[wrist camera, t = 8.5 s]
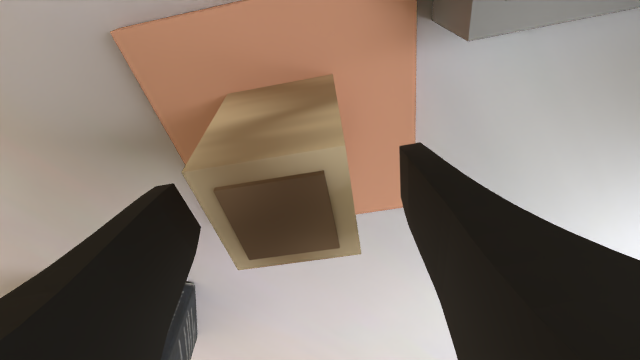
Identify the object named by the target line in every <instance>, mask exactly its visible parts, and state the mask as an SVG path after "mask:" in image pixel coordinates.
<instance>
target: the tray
mask: <svg viewBox="0 0 640 360" xmlns="http://www.w3.org/2000/svg"><path fill="white" fill-rule="evenodd" d="M635 8H640V0H433V11H432V21H434V22H435V23H437V24H439V25H441V26H442V27H444V28H446V29H448V30H449V31H451V32H453V33H454V34H456V35H458V36H460V37H461V38H463V39H465V40H467V41H473V40H478V39H483V38H488V37H493V36H498V35H503V34H508V33H513V32H518V31H523V30H528V29H533V28H539V27H544V26H549V25H554V24H559V23H564V22H569V21H574V20H579V19H584V18H589V17H594V16H599V15H604V14H610V13H615V12H620V11H625V10H630V9H635Z"/></svg>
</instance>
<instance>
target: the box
mask: <svg viewBox="0 0 640 360" xmlns="http://www.w3.org/2000/svg"><path fill="white" fill-rule="evenodd" d="M196 340H197V319H196V299H195V285H194V284H193V283H185V285H184V288H183V291H182V294H181V296H180V299H179V302H178V305H177V307H176V310H175V313H174V316H173V318H172V321H171V324H170V327H169V331H168V334H167V337H166V341H165V345H164V349H163V353H162V357H161V360H190V359H191V356H192V353H193V349H194V346H195V343H196Z"/></svg>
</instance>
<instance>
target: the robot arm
mask: <svg viewBox="0 0 640 360" xmlns="http://www.w3.org/2000/svg"><path fill="white" fill-rule="evenodd" d="M399 154H400V193H401V200H402V204H403V208H404V211H405V215H406V218H407V222H408V225H409V228H410V230H411V232H412V235H413V237H414V240H415V242H416V244H417V247H418V249H419V252H420V254H421V256H422V259H423V261H424V263H425V266H426V268H427V271H428V273H429V275H430V278H431V280H432V282H433V285H434V287H435V290H436V292H437V295H438V298H439V300H440V303H441V306H442V309H443V312H444V315H445V319H446V322H447V325H448V328H449V331H450V335H451V338H452V341H453V345H454V348H455V351H456V355H457V358H458V360H640V260H637V259H635V258H632V257H629V256H627V255H624V254H622V253H619V252H617V251H614V250H612V249H609V248H607V247H604V246H602V245H600V244H597V243H595V242H593V241H590V240H588V239H586V238H583V237H581V236H579V235H576V234H574V233H572V232H569V231H567V230H565V229H563V228H561V227H558V226H556V225H554V224H552V223H550V222H548V221H546V220H544V219H542V218H540V217H538V216H536V215H534V214H532V213H530V212H528V211H526V210H524V209H522V208H520V207H518V206H516V205H514V204H513V203H511V202H509V201H507V200H505V199H504V198H502V197H500V196H499V195H497V194H495V193H494V192H492V191H490V190H489V189H487V188H485V187H484V186H482V185H480V184H479V183H477V182H476V181H474V180H472V179H471V178H469V177H468V176H466V175H465V174H463V173H462V172H460V171H459V170H458V169H456V168H455V167H453V166H452V165H450V164H449V163H448V162H446V161H445V160H443V159H442V158H441V157H439V156H438V155H437V154H435V153H434V152H433V151H431V150H430V149H428V148H427V147H426V146H424V145H423V144H422V143H414V144H408V145H402V146H399ZM200 229H201V226H200V225H199V223H198V222H197V220H196V218H195V217H194V215H193V214H192V212H191V210H190V209H189V207H188V206H187V204H186V203H185V201H184V199H183V198H182V196H181V195H180V193H179V191H178V190H177V188H176V187H175V185H174V184H168V185H162V186H156V187H154V188H153V189H151V190H150V191H148V192H147V193H145V194H144V195H142V196H141V197H140V198H138V199H137V200H136V201H134V202H133V203H132V204H130V205H129V206H128V207H126V208H125V209H124V210H123V211H121V212H120V213H119V214H118V215H116V216H115V217H114V218H112V219H111V220H110V221H109V222H107V223H106V224H105V225H104V226H102V227H101V228H100V229H98V230H97V231H96V232H95V233H93V234H92V235H91V236H89V237H88V238H87V239H85V240H84V241H83V242H81V243H80V244H79V245H77V246H76V247H75V248H73V249H72V250H71V251H69V252H68V253H67V254H65V255H64V256H63V257H61V258H60V259H58V260H57V261H56V262H54V263H53V264H52V265H50V266H49V267H47V268H46V269H44V270H43V271H41V272H40V273H39V274H37V275H36V276H34V277H33V278H31V279H30V280H28V281H27V282H25V283H24V284H22V285H20V286H19V287H17V288H16V289H14V290H13V291H11V292H10V293H8V294H7V295H5V296H3V297H2V298H0V360H161V357H162V353H163V349H164V345H165V341H166V337H167V334H168V331H169V327H170V324H171V321H172V318H173V316H174V313H175V310H176V307H177V305H178V302H179V299H180V296H181V294H182V291H183V288H184V285H185V283H186V280H187V277H188V274H189V272H190V269H191V266H192V263H193V260H194V257H195V254H196V249H197V245H198V240H199V235H200Z"/></svg>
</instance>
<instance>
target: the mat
mask: <svg viewBox="0 0 640 360" xmlns="http://www.w3.org/2000/svg"><path fill="white" fill-rule="evenodd" d="M110 33H111V35H112V37H113V38H114V40H115V42H116V44H117V46H118V47H119V49H120V51H121V53H122V54H123V56H124V58H125V60H126V61H127V63H128V65H129V67H130V68H131V70H132V72H133V74H134V75H135V77H136V79H137V81H138V83H139V84H140V86H141V88H142V90H143V91H144V93H145V95H146V97H147V98H148V100H149V102H150V104H151V105H152V107H153V109H154V111H155V112H156V114H157V116H158V118H159V120H160V121H161V123H162V125H163V127H164V128H165V130H166V132H167V134H168V135H169V137H170V139H171V141H172V142H173V144H174V146H175V148H176V149H177V151H178V153H179V155H180V156H181V158H182V160H183V162H184V164H185V165H186V164H187V162H188V160H189V159H190V157H191V155H192V154H193V152H194V150H195V149H196V147H197V145H198V143H199V142H200V140H201V138H202V137H203V135H204V133H205V131H206V130H207V128H208V126H209V125H210V123H211V121H212V120H213V118H214V116H215V114H216V113H217V111H218V109H219V108H220V106H221V104H222V102H223V101H224V99H225V97H226V96H227V94H229V93H234V92H240V91H245V90H250V89H256V88H261V87H266V86H272V85H277V84H282V83H288V82H293V81H298V80H304V79H309V78H314V77H320V76H325V75H330V74H333V78H334V84H335V89H336V95H337V101H338V107H339V112H340V118H341V124H342V129H343V135H344V141H345V147H346V154H347V160H348V167H349V174H350V181H351V188H352V195H353V201H354V208H355V214H362V213H368V212H375V211H382V210H388V209H395V208H402V207H403V204H402V200H401V193H400V154H399V146H402V145H408V144H414V143H415V115H416V34H417V0H242V1H238V2H233V3H229V4H224V5H220V6H216V7H211V8H207V9H202V10H198V11H193V12H189V13H184V14H180V15H176V16H171V17H167V18H162V19H158V20H153V21H149V22H145V23H140V24H136V25H131V26H127V27H122V28H118V29H116V30H113V31H111V32H110Z"/></svg>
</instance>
